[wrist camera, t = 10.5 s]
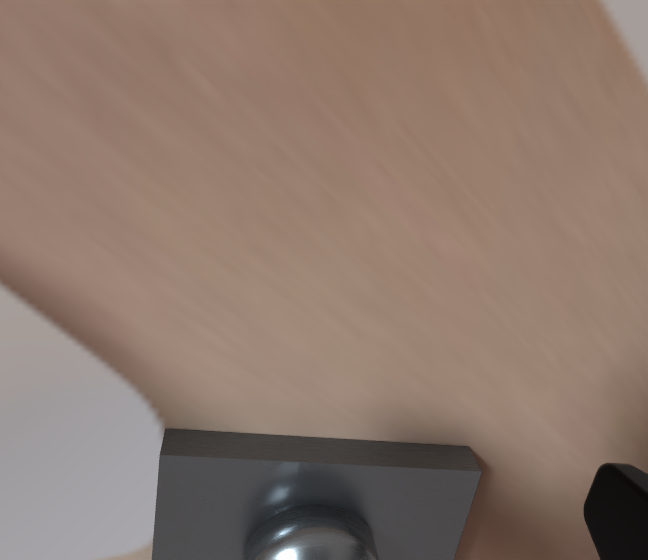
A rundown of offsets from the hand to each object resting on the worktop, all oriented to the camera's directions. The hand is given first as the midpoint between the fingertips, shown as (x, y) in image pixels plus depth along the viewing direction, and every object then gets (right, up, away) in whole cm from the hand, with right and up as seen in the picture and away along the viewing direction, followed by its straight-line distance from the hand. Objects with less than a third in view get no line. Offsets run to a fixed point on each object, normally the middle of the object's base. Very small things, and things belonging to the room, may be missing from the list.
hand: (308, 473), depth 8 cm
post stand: (-1, -8, +16) cm, 18 cm away
